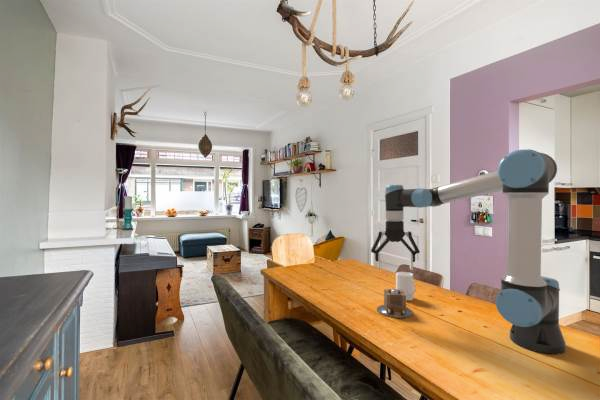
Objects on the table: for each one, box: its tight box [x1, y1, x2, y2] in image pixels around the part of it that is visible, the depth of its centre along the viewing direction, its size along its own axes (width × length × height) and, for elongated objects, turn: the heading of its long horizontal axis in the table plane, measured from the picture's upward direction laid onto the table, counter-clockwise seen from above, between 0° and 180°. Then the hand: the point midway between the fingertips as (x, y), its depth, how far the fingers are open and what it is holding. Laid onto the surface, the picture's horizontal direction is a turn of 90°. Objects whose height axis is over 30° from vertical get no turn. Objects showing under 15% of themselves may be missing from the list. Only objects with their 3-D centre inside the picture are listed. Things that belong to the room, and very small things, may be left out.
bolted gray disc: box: [376, 288, 414, 319], centre depth 135 cm, size 15×15×9 cm
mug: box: [395, 271, 417, 302], centre depth 151 cm, size 12×8×12 cm
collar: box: [383, 288, 407, 319], centre depth 133 cm, size 12×8×8 cm, turn 172°
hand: (395, 269), depth 135 cm, fingers open, 13 cm apart
